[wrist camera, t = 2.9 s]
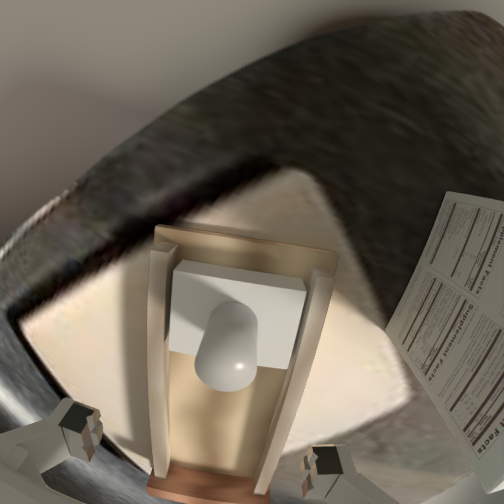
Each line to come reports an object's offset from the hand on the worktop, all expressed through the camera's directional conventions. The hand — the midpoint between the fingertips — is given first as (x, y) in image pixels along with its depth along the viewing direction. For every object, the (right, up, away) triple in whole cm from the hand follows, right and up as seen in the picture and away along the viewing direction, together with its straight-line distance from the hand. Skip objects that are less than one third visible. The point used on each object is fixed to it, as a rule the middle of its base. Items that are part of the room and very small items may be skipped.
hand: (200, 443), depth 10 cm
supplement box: (+21, +4, +13) cm, 25 cm away
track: (-1, -6, +16) cm, 17 cm away
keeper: (+1, +3, +12) cm, 13 cm away
